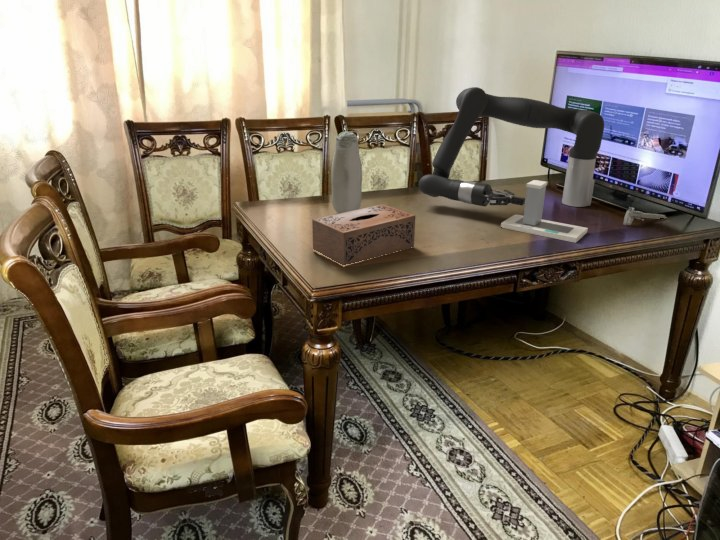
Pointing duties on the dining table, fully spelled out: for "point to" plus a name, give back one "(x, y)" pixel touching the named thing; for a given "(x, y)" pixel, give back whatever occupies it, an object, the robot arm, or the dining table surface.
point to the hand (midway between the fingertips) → (524, 201)
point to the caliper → (639, 216)
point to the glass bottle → (346, 173)
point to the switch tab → (534, 202)
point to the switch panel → (546, 229)
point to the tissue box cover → (363, 233)
